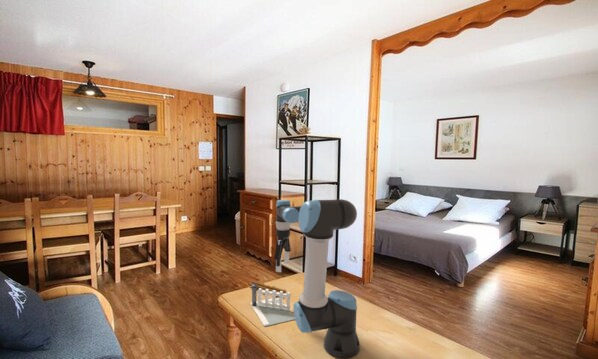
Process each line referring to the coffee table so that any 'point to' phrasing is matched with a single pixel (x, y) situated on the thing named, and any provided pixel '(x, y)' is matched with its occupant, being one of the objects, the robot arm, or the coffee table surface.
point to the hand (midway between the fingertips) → (282, 267)
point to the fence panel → (273, 298)
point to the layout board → (272, 314)
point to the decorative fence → (266, 287)
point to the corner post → (254, 294)
